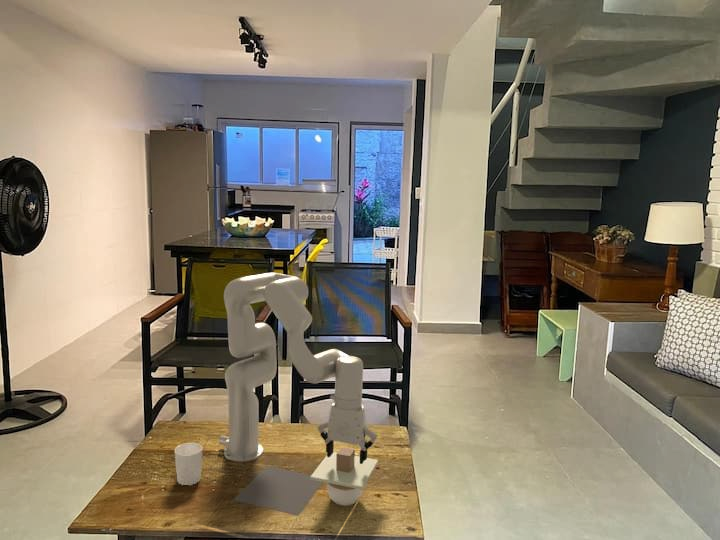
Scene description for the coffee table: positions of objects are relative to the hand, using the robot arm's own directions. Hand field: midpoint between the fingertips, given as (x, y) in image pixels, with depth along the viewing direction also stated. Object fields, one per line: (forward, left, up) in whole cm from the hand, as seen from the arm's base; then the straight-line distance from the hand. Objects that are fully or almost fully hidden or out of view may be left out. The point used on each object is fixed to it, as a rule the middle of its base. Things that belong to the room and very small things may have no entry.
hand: (346, 458), depth 159 cm
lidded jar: (0, 0, -13) cm, 13 cm away
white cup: (-47, -7, -13) cm, 49 cm away
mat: (-19, -2, -13) cm, 23 cm away
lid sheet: (0, 0, -4) cm, 4 cm away
